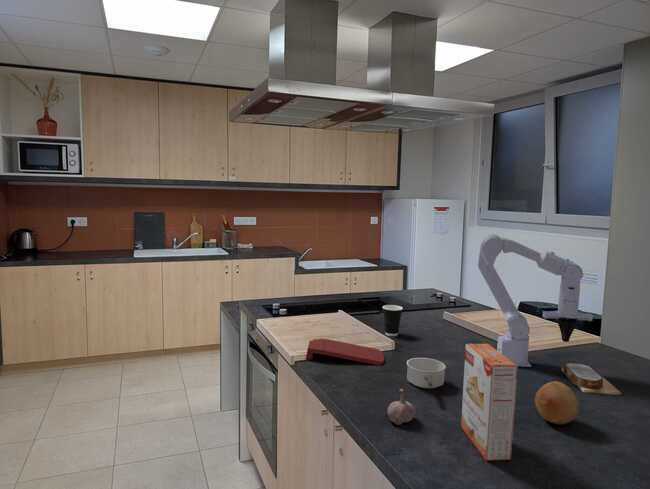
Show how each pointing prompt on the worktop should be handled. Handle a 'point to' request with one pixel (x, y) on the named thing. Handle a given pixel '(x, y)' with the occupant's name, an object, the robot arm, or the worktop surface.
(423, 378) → the white ceramic ramekin
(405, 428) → the worktop surface
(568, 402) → the onion
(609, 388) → the oak board
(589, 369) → the tin
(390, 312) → the dixie cup
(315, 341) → the red flat block
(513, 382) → the cracker box
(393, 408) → the garlic bulb
